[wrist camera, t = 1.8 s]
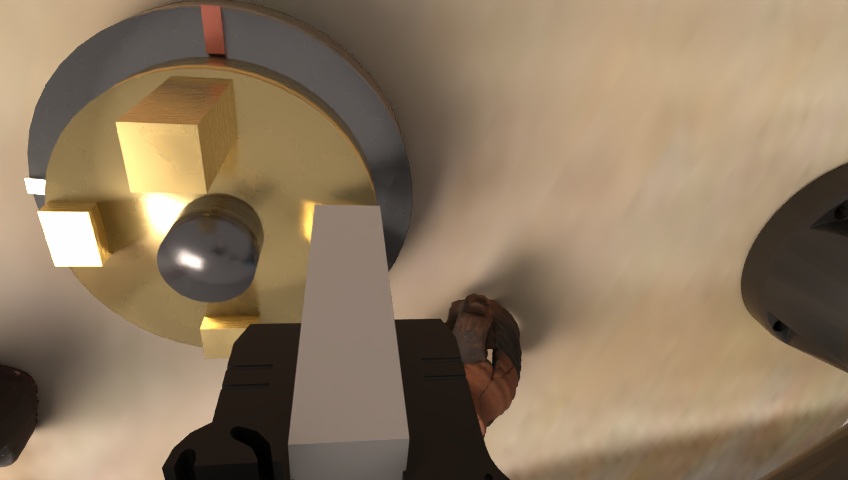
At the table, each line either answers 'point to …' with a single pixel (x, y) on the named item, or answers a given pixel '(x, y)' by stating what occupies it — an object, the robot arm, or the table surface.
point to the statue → (16, 413)
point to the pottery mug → (477, 332)
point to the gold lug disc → (197, 188)
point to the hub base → (251, 42)
